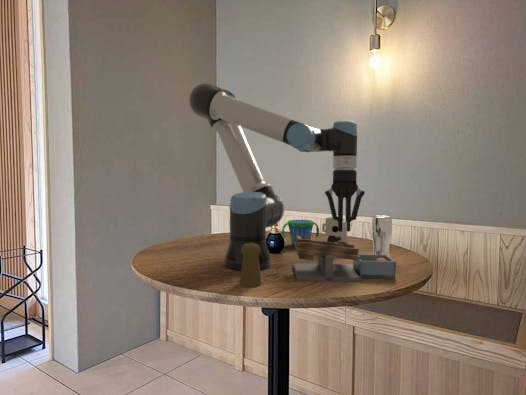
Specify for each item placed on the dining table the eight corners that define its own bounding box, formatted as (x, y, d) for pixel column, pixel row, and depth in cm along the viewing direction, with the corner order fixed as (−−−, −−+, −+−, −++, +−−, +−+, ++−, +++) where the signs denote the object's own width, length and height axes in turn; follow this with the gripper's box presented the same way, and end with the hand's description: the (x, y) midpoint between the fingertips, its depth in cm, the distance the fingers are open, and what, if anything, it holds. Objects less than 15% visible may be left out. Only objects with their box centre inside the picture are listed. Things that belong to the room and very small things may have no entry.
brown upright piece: (261, 280, 111) (261, 241, 110) (261, 286, 105) (262, 245, 104) (239, 280, 111) (240, 241, 110) (239, 286, 105) (239, 245, 104)
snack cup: (283, 248, 158) (284, 222, 157) (279, 243, 168) (280, 219, 167) (322, 247, 159) (322, 222, 158) (315, 243, 170) (316, 219, 169)
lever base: (297, 280, 112) (297, 255, 111) (293, 266, 128) (294, 245, 127) (360, 281, 112) (361, 256, 111) (349, 267, 127) (350, 245, 127)
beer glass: (392, 261, 137) (393, 218, 136) (371, 260, 139) (372, 217, 137) (389, 256, 144) (391, 216, 143) (370, 255, 145) (371, 215, 144)
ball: (385, 275, 117) (373, 268, 117) (381, 271, 121) (370, 264, 121) (392, 264, 117) (381, 256, 117) (388, 261, 121) (377, 254, 121)
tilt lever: (296, 260, 113) (298, 240, 113) (292, 246, 133) (294, 230, 133) (358, 267, 113) (361, 248, 113) (345, 252, 133) (347, 236, 133)
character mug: (326, 254, 146) (327, 219, 145) (317, 251, 153) (317, 217, 152) (351, 252, 150) (352, 218, 149) (341, 249, 157) (342, 216, 156)
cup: (359, 278, 115) (360, 261, 115) (353, 270, 124) (353, 254, 124) (395, 278, 115) (395, 261, 114) (385, 270, 124) (386, 254, 124)
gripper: (326, 169, 125) (325, 243, 126) (367, 169, 124) (366, 243, 126) (323, 169, 132) (322, 239, 134) (362, 169, 132) (361, 239, 133)
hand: (343, 241), depth 130 cm, fingers closed
